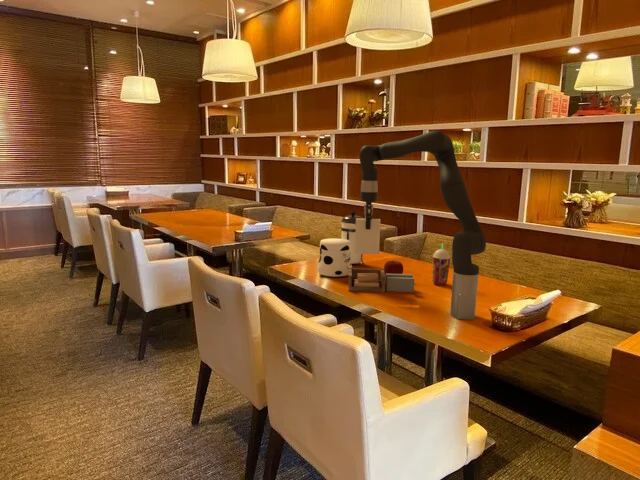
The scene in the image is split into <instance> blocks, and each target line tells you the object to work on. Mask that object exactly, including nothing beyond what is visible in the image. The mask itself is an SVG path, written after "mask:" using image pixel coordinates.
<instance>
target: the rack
mask: <svg viewBox="0 0 640 480" xmlns="http://www.w3.org/2000/svg"><path fill="white" fill-rule="evenodd" d="M357 273H377V274H378V276H379V278H378V281H379V287H361V286H354V279H357ZM385 280H386V276H385V274H384V268H359V267H358V268H356V267H352V268H349V276H348V292H363V293H364V292H365V293H386V287H385Z"/></svg>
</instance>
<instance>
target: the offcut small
mask: <svg viewBox="0 0 640 480" xmlns="http://www.w3.org/2000/svg"><path fill="white" fill-rule="evenodd" d="M378 278H379V276H378V274H377V273H357V281H358V283H378Z"/></svg>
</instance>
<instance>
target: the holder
mask: <svg viewBox="0 0 640 480" xmlns="http://www.w3.org/2000/svg"><path fill="white" fill-rule="evenodd" d="M385 292H398V293H399V292H401V293H402V292H405V293H413V295H414V294H415V277H413V274H412V273H410V274H409V273H408V274H407V273H403V274H386V276H385Z"/></svg>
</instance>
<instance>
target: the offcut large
mask: <svg viewBox="0 0 640 480" xmlns="http://www.w3.org/2000/svg"><path fill="white" fill-rule="evenodd" d="M354 286H361V287H379V281H378V283H358V281H357V279H354Z"/></svg>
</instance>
